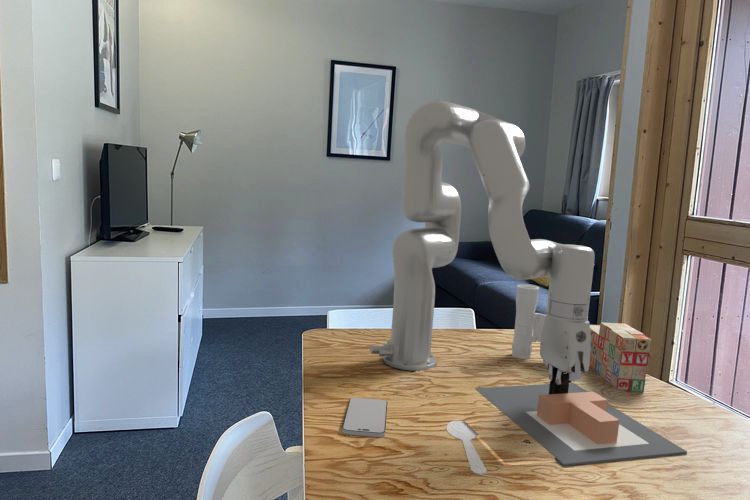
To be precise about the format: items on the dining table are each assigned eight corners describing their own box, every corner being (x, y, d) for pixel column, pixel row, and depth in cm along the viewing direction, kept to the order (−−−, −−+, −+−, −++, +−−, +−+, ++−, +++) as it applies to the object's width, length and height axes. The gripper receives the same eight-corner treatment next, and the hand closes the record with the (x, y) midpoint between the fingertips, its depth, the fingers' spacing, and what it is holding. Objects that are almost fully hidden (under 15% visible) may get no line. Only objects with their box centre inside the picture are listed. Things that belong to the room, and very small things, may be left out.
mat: (563, 466, 86) (563, 463, 86) (474, 389, 115) (474, 388, 115) (686, 453, 93) (687, 451, 93) (572, 384, 122) (573, 382, 122)
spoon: (462, 475, 82) (462, 472, 82) (442, 422, 100) (443, 419, 100) (498, 476, 82) (498, 473, 82) (472, 423, 100) (472, 420, 100)
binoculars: (510, 358, 138) (517, 287, 136) (509, 351, 144) (516, 283, 141) (582, 366, 135) (590, 294, 133) (578, 359, 141) (586, 290, 138)
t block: (576, 446, 92) (579, 423, 92) (536, 415, 103) (538, 395, 103) (636, 440, 96) (638, 418, 95) (590, 411, 107) (593, 391, 106)
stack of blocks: (580, 359, 141) (585, 312, 140) (604, 360, 141) (610, 313, 140) (616, 391, 120) (622, 336, 118) (644, 393, 120) (652, 338, 118)
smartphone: (387, 400, 107) (385, 433, 92) (387, 405, 107) (384, 440, 92) (350, 397, 107) (341, 429, 92) (349, 402, 107) (340, 436, 92)
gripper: (610, 319, 99) (598, 416, 102) (561, 300, 113) (552, 386, 116) (574, 320, 97) (563, 419, 100) (529, 300, 111) (520, 387, 114)
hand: (557, 401), depth 108 cm, fingers closed
